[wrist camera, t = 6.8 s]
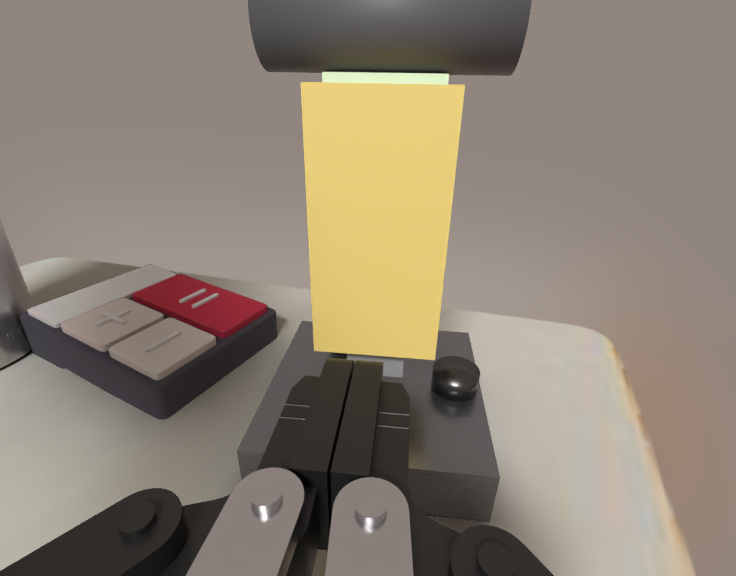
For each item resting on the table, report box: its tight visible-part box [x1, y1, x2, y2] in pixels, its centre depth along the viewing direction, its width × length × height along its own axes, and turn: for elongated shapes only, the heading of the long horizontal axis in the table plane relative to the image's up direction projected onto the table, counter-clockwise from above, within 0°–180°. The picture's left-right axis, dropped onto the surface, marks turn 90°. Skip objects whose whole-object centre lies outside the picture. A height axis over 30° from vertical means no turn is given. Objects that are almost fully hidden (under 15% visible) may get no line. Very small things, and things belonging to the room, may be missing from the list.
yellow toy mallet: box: [248, 0, 531, 378], centre depth 19 cm, size 10×5×18 cm, turn 84°
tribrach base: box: [237, 321, 500, 521], centre depth 24 cm, size 12×12×4 cm
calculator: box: [19, 265, 277, 419], centre depth 31 cm, size 11×4×15 cm
